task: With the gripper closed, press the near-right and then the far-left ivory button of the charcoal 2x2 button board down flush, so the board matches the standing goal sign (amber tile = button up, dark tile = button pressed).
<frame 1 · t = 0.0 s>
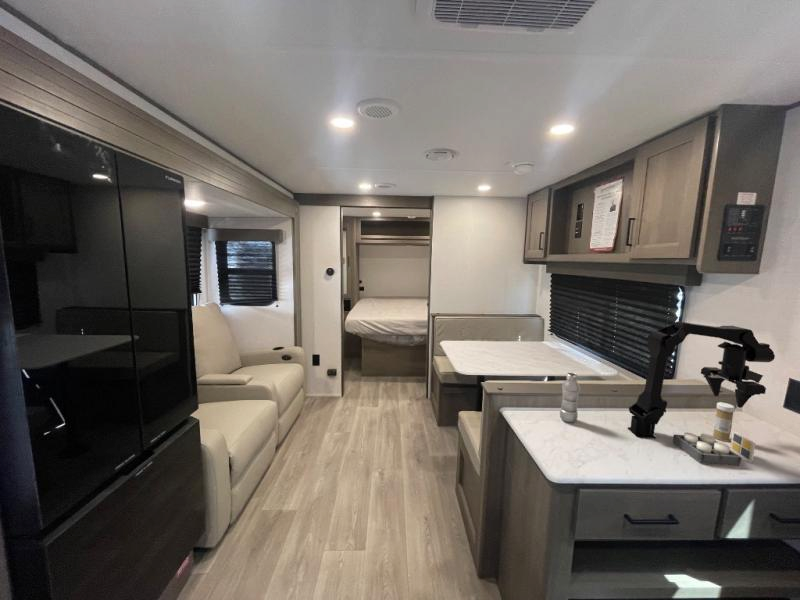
hand: (727, 401, 114), 15 cm above the worktop, fingers open, 9 cm apart
goal sign: (740, 456, 106), on the worktop
button far right: (721, 448, 103), point 4 cm above the worktop, slide at 0.0 cm
button far left: (707, 439, 109), point 4 cm above the worktop, slide at 0.0 cm
sprinkles bottle: (720, 438, 116), on the worktop
plastic bottle: (568, 420, 128), on the worktop
button board: (704, 453, 107), on the worktop
button near right: (703, 447, 104), point 4 cm above the worktop, slide at 0.0 cm
button near left: (690, 438, 109), point 4 cm above the worktop, slide at 0.0 cm
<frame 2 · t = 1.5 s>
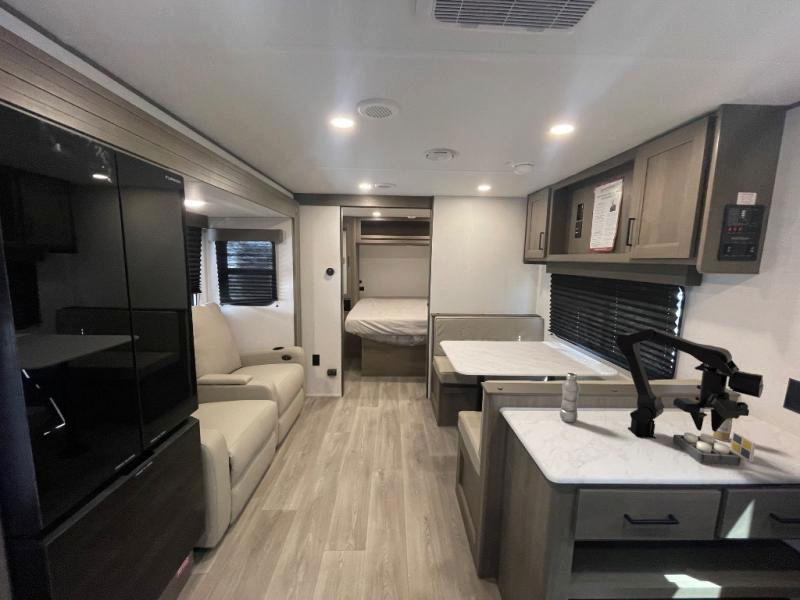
hand: (706, 430, 103), 10 cm above the worktop, fingers open, 4 cm apart
nothing on the worktop moved.
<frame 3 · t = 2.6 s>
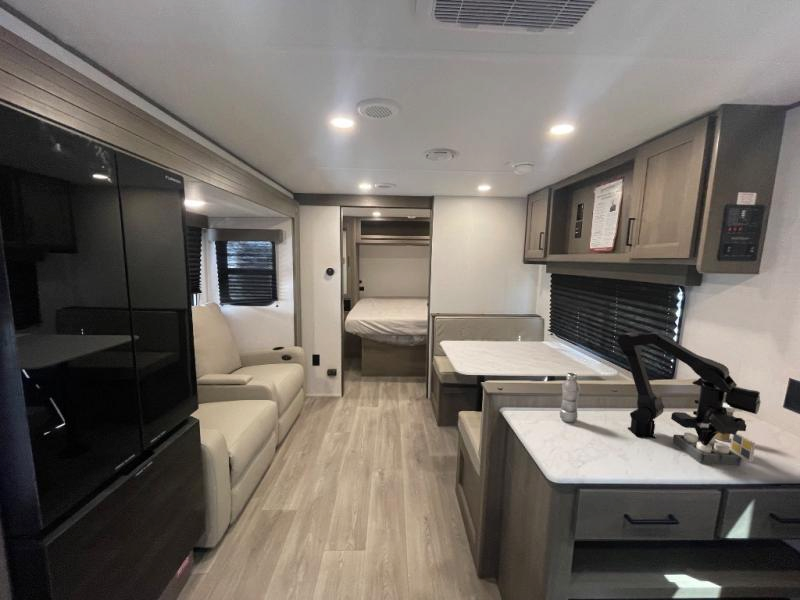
hand: (704, 444, 104), 5 cm above the worktop, fingers closed, pressing on button near right
button near right: (703, 448, 104), point 4 cm above the worktop, slide at 0.2 cm, touching gripper
everything else where it was.
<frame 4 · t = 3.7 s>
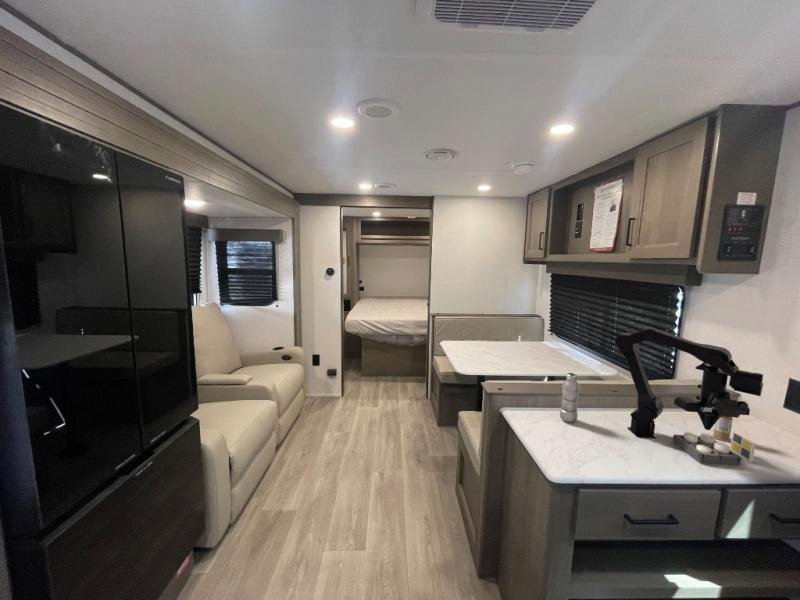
hand: (707, 429, 104), 10 cm above the worktop, fingers closed
button near right: (703, 451, 104), point 3 cm above the worktop, slide at 1.2 cm
everything else where it was.
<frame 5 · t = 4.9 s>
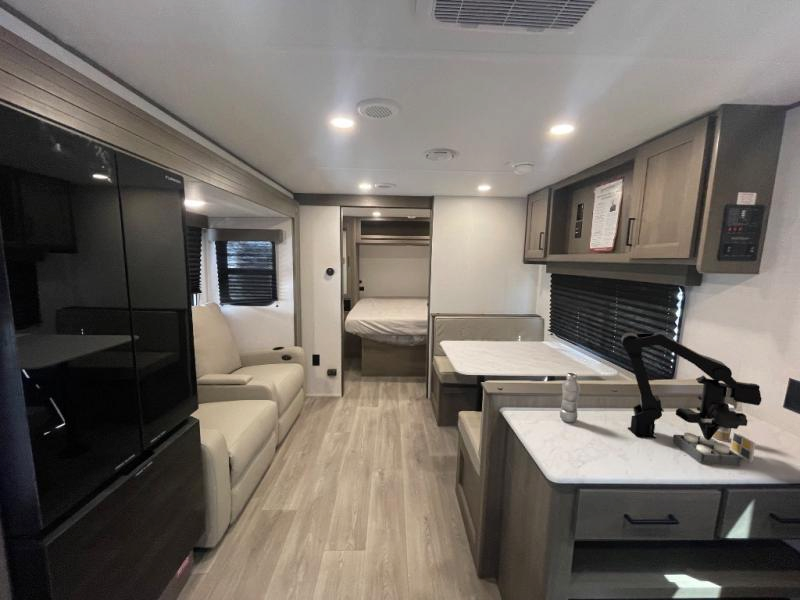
hand: (707, 439, 109), 4 cm above the worktop, fingers closed, pressing on button far left
button far left: (706, 442, 109), point 3 cm above the worktop, slide at 1.1 cm, touching gripper
everything else where it was.
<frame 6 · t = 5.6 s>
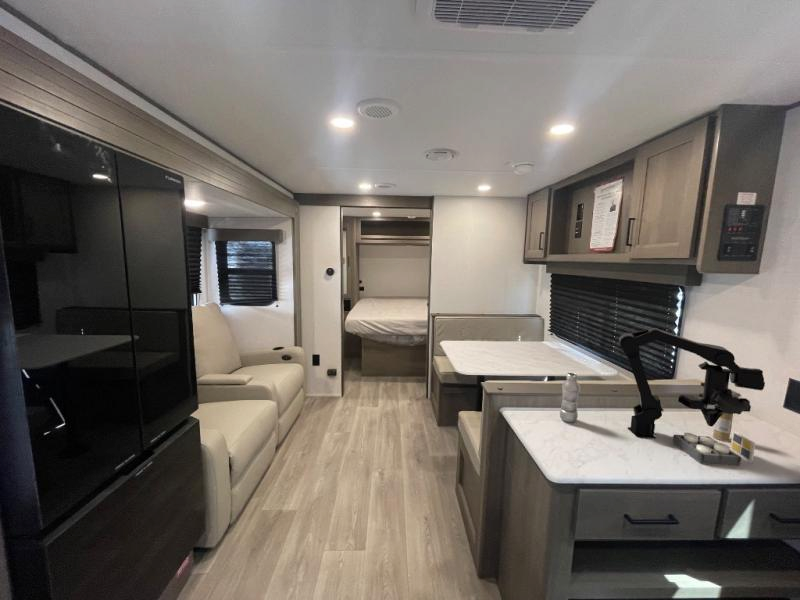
hand: (710, 425, 108), 9 cm above the worktop, fingers closed
button far left: (706, 442, 109), point 3 cm above the worktop, slide at 1.2 cm
everything else where it was.
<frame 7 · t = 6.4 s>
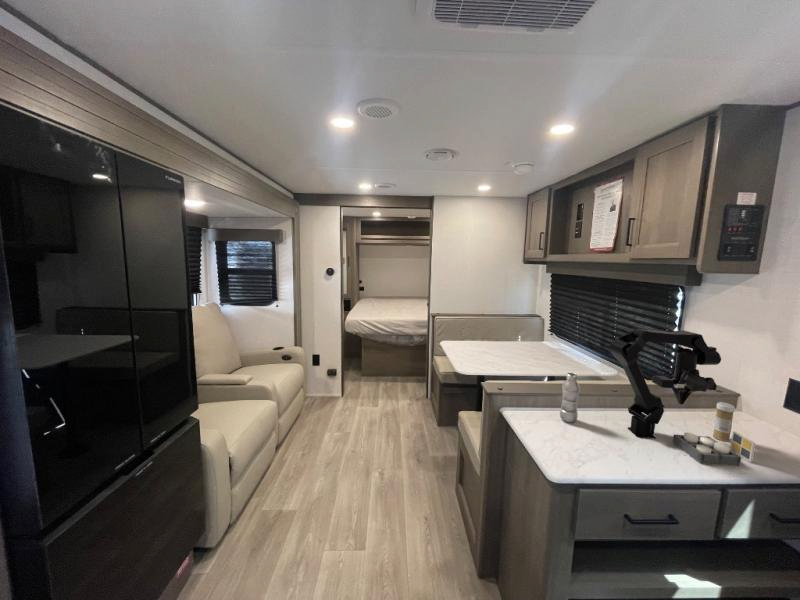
hand: (680, 403, 118), 12 cm above the worktop, fingers closed
nothing on the worktop moved.
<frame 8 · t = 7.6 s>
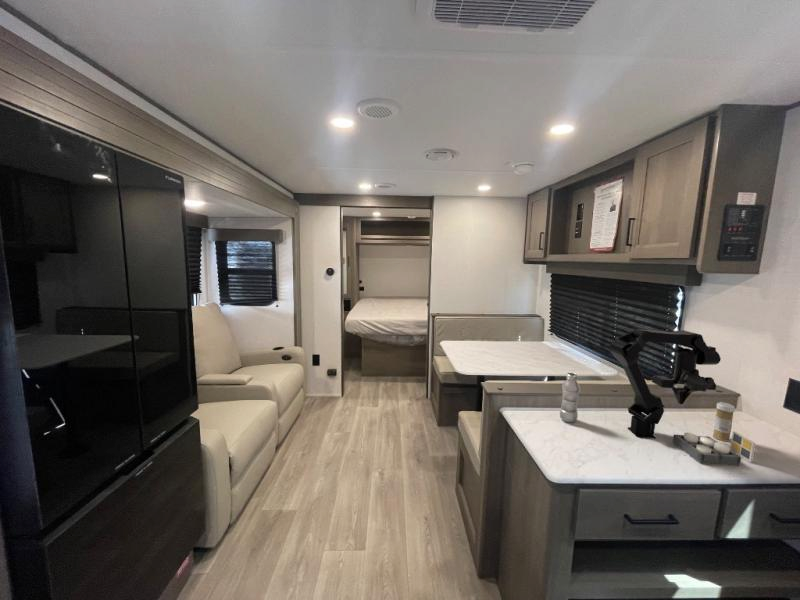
hand: (680, 403, 118), 12 cm above the worktop, fingers closed
nothing on the worktop moved.
at the end: button near right slide at 1.2 cm; button far left slide at 1.2 cm; button near left slide at 0.0 cm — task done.
